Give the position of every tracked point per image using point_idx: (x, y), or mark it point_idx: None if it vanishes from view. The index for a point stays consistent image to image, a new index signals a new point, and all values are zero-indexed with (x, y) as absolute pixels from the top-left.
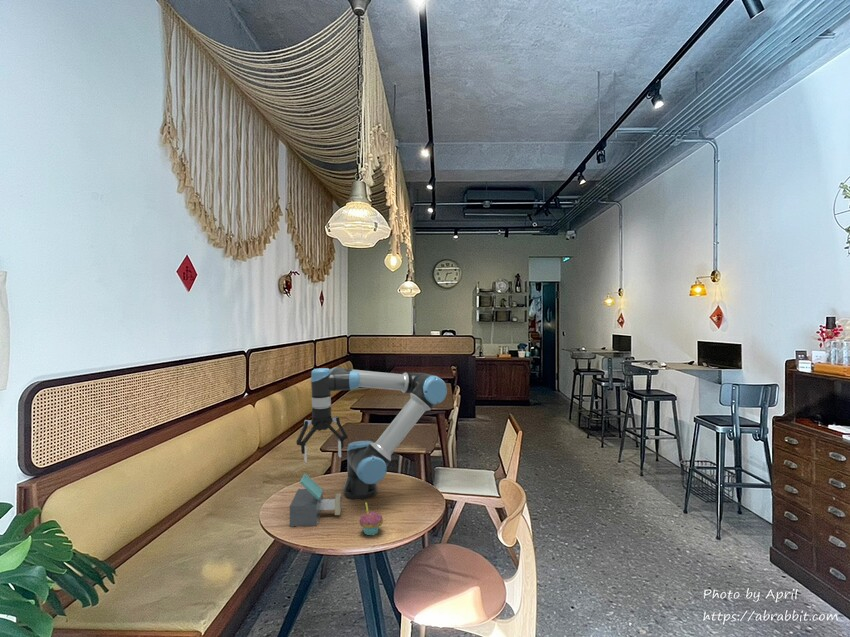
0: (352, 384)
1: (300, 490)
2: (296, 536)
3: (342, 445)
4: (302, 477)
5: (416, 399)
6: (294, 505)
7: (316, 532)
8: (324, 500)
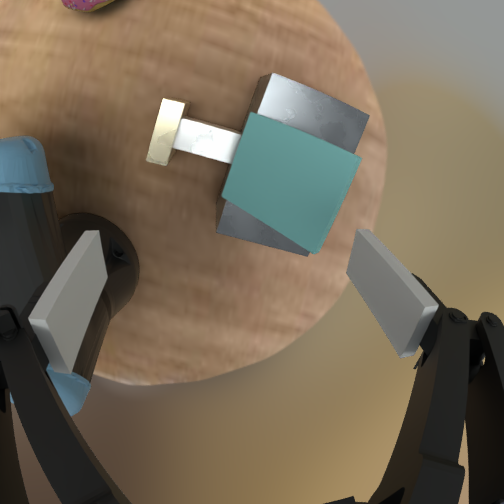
0: None
1: None
2: (330, 43)
3: (38, 298)
4: (334, 216)
5: None
6: (353, 111)
7: (268, 37)
8: (220, 149)
